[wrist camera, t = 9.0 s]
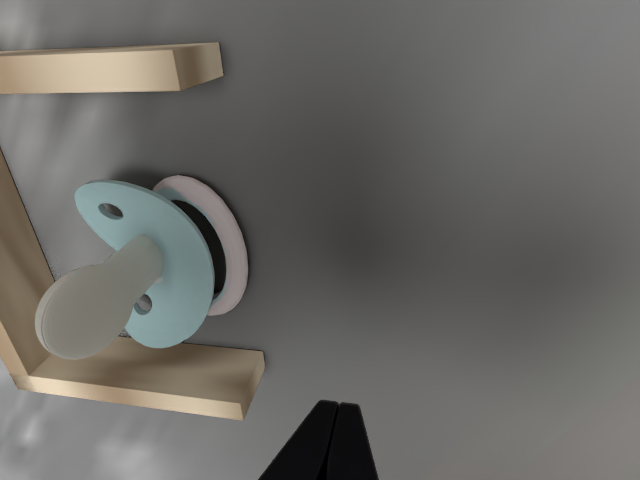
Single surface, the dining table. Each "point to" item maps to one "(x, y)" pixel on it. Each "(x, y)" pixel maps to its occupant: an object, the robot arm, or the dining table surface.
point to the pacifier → (143, 270)
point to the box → (35, 279)
